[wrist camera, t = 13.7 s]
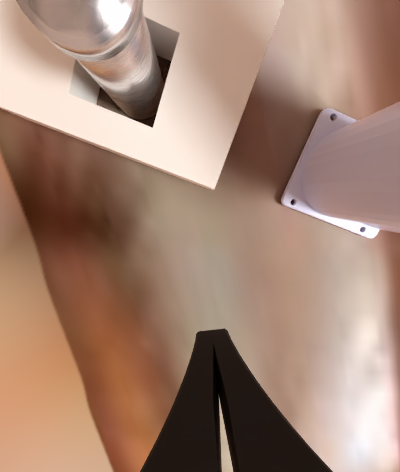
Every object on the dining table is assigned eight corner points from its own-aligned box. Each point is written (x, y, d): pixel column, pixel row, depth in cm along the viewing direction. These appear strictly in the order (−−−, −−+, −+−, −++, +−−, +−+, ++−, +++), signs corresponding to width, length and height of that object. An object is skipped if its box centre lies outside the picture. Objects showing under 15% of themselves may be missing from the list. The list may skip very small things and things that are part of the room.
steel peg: (174, 65, 14) (147, -97, 6) (162, 130, 15) (126, 63, 7) (113, 46, 14) (2, -151, 6) (105, 114, 15) (1, 25, 7)
